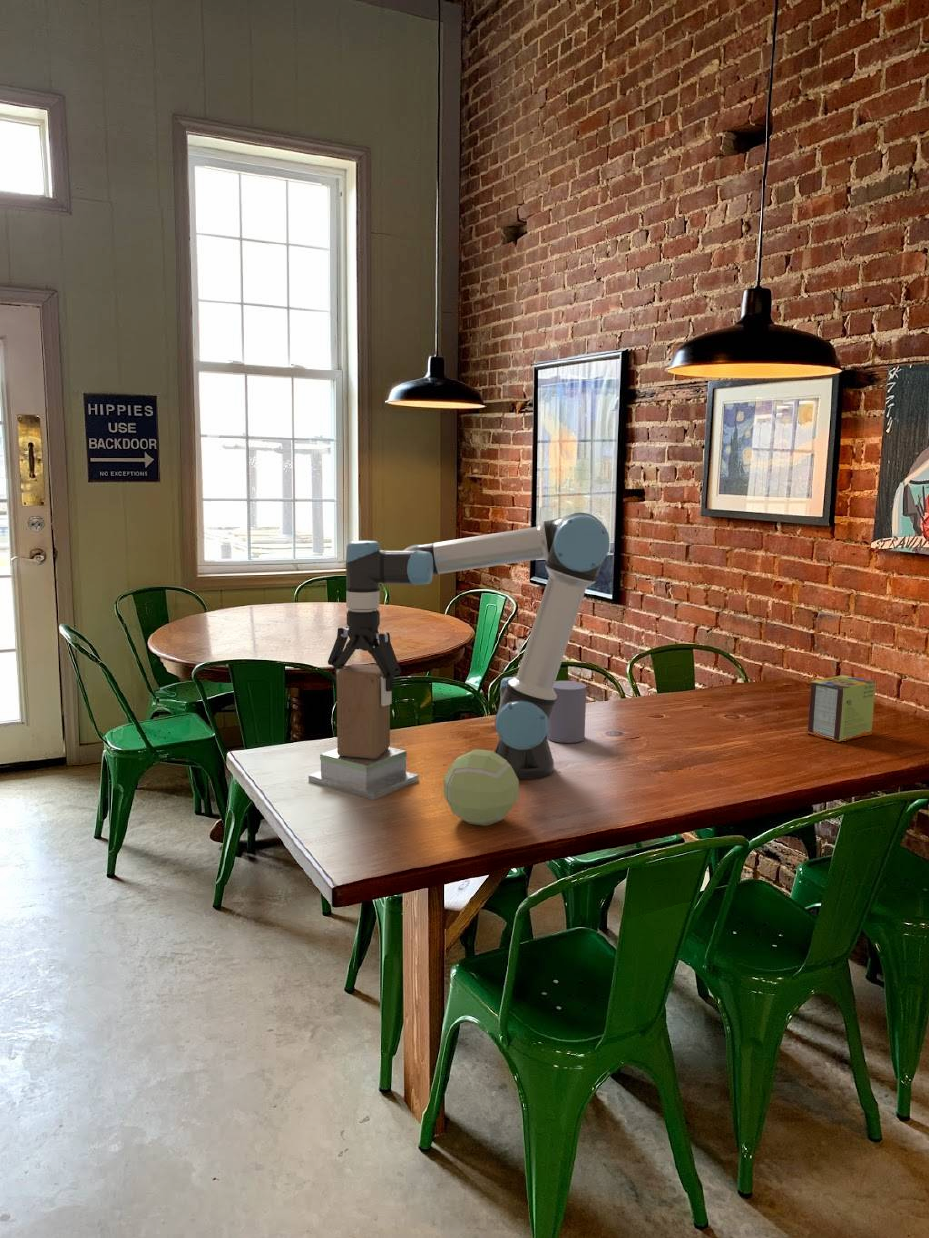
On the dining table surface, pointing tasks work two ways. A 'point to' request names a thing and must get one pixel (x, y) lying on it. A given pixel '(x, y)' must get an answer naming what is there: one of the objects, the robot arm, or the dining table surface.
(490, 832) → the dining table surface
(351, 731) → the wooden block
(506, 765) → the tennis ball
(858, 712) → the protein box
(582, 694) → the container
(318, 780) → the stand
